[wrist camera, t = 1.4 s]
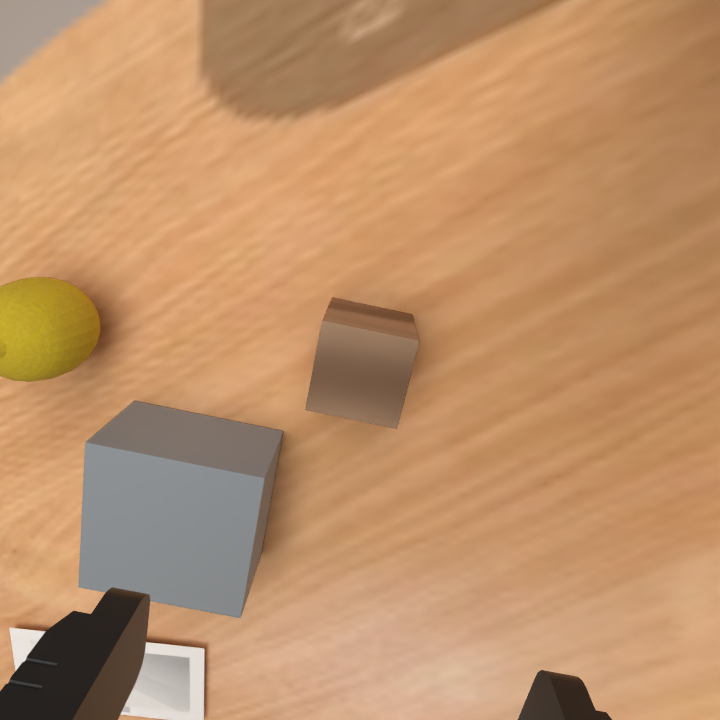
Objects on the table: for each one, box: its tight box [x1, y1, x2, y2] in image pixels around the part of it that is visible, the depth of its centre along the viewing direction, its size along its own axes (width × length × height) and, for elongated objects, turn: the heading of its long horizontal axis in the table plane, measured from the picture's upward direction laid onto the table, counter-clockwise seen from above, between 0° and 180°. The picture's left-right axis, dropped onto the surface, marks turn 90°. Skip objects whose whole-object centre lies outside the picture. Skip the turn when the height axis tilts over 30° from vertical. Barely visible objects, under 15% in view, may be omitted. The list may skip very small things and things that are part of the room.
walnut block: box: [305, 297, 419, 429], centre depth 30 cm, size 5×5×6 cm
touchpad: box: [10, 628, 204, 720], centre depth 41 cm, size 8×15×2 cm, turn 84°
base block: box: [78, 401, 283, 618], centre depth 33 cm, size 10×10×6 cm
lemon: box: [0, 277, 100, 382], centre depth 29 cm, size 6×6×8 cm
